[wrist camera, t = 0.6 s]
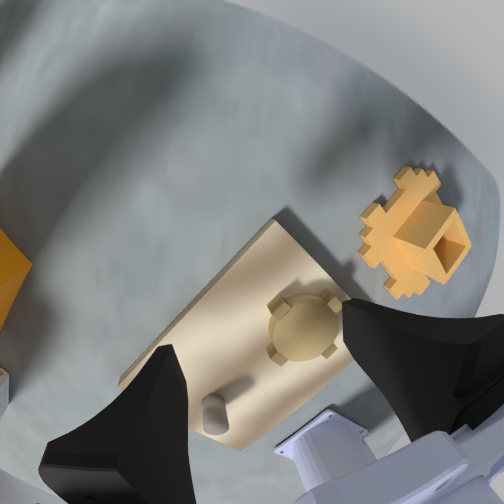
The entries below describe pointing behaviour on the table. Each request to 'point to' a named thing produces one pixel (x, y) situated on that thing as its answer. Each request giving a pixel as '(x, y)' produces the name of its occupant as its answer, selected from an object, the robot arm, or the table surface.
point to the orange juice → (10, 274)
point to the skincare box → (4, 391)
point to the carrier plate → (256, 340)
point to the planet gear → (414, 234)
